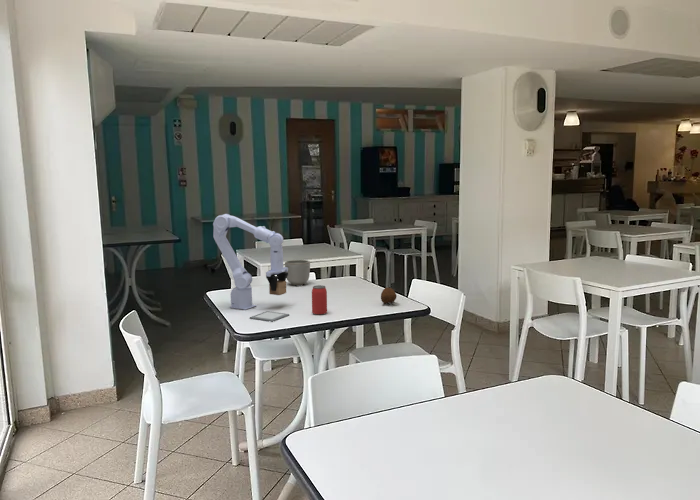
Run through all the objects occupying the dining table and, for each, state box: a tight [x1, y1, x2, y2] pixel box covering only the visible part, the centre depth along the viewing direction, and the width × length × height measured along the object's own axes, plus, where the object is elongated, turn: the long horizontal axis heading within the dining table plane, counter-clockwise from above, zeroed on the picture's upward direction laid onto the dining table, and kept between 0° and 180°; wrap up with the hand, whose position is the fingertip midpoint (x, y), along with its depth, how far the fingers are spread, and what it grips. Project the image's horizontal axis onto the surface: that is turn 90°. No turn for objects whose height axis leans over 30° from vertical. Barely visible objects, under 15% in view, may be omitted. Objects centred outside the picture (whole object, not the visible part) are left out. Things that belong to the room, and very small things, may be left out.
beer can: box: [311, 284, 328, 316], centre depth 241 cm, size 7×7×12 cm
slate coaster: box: [249, 310, 290, 323], centre depth 236 cm, size 12×12×1 cm
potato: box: [380, 287, 397, 305], centre depth 257 cm, size 7×10×8 cm
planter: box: [284, 259, 311, 286], centre depth 304 cm, size 14×14×13 cm
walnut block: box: [268, 279, 287, 296], centre depth 252 cm, size 6×6×6 cm
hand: (277, 289), depth 252 cm, fingers closed on walnut block, 5 cm apart
